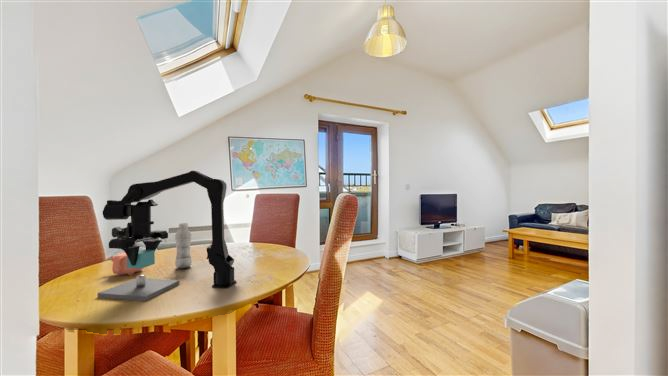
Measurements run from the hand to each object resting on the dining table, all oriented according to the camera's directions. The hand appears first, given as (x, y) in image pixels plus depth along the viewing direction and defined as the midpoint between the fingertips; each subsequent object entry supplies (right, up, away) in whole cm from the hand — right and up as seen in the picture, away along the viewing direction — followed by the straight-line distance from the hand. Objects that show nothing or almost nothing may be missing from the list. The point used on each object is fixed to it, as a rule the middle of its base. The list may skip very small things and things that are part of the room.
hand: (141, 263), depth 94 cm
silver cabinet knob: (0, -8, 0) cm, 8 cm away
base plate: (0, -10, 0) cm, 10 cm away
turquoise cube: (0, -1, 0) cm, 1 cm away
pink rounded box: (-19, -10, +19) cm, 29 cm away
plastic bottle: (0, -10, +26) cm, 28 cm away
